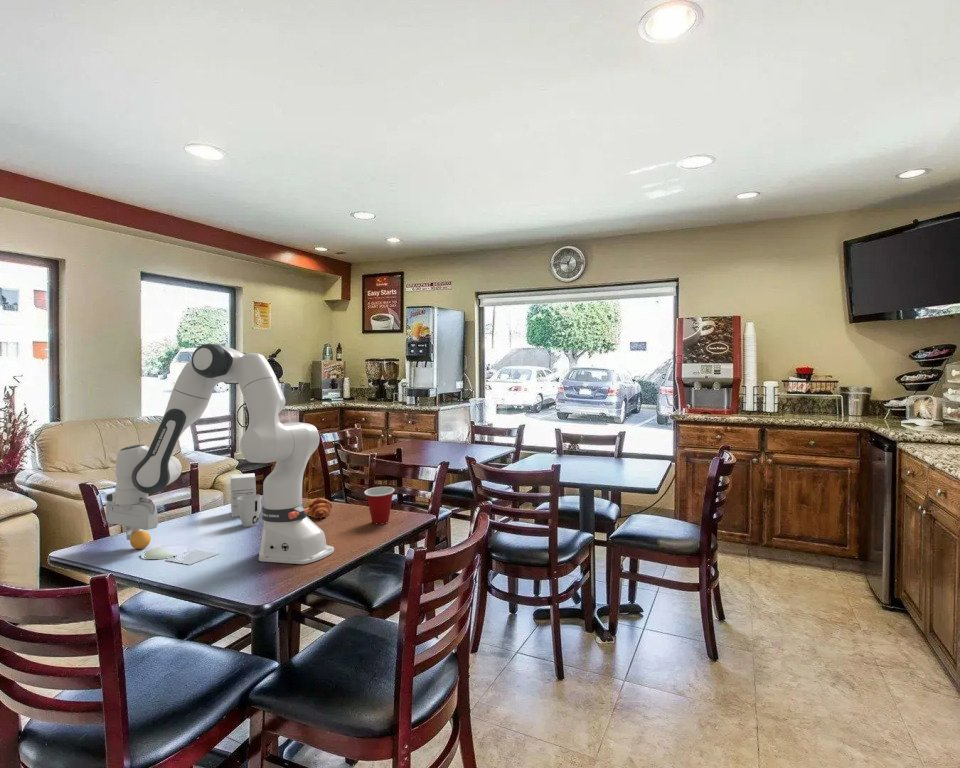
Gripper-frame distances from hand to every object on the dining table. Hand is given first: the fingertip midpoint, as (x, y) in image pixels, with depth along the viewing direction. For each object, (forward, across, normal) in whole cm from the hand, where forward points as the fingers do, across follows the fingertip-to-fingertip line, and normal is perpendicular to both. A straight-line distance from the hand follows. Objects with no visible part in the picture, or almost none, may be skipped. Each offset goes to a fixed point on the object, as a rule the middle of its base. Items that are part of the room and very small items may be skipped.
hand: (131, 539), depth 171 cm
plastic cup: (0, -58, -52) cm, 78 cm away
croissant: (+1, -28, -54) cm, 61 cm away
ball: (0, -4, 0) cm, 4 cm away
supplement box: (+2, 0, -44) cm, 44 cm away
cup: (+2, -15, -33) cm, 37 cm away
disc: (+2, -15, 0) cm, 15 cm away
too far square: (+2, -27, 0) cm, 27 cm away
